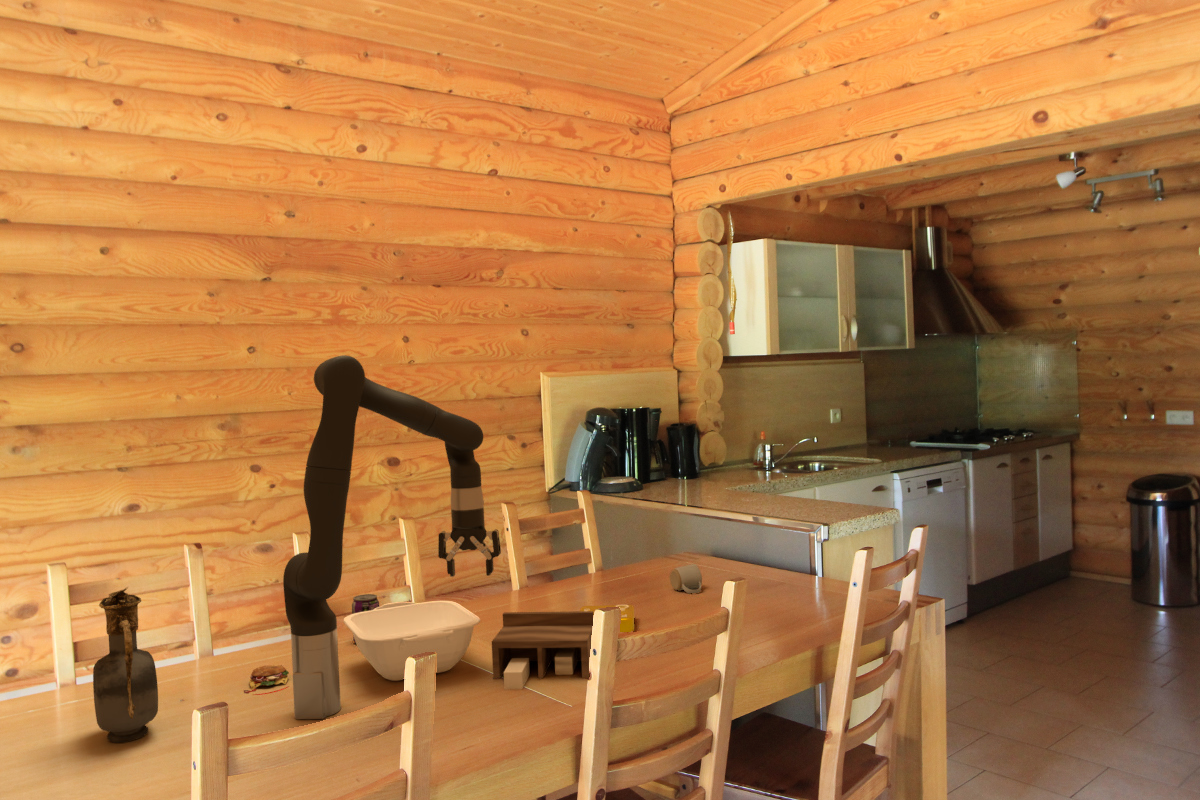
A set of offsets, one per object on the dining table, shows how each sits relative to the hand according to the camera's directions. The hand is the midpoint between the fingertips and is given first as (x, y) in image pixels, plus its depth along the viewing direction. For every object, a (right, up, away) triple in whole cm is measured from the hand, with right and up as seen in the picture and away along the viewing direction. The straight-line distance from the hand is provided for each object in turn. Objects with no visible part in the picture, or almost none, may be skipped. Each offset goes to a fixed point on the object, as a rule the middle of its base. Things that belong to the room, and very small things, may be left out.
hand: (470, 575), depth 208 cm
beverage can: (-32, -24, +30) cm, 50 cm away
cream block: (+11, -23, -7) cm, 26 cm away
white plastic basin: (-14, -24, +5) cm, 28 cm away
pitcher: (-63, -26, -31) cm, 75 cm away
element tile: (+32, -21, +36) cm, 52 cm away
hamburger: (-47, -26, -2) cm, 54 cm away
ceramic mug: (+58, -19, +73) cm, 95 cm away
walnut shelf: (+17, -22, +2) cm, 28 cm away
